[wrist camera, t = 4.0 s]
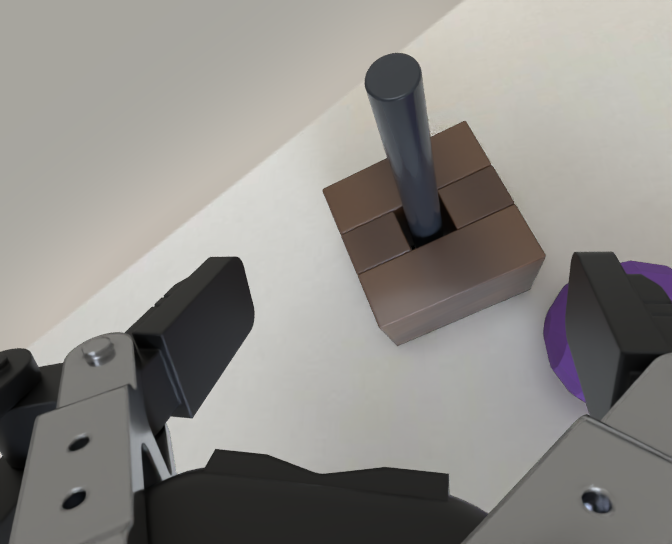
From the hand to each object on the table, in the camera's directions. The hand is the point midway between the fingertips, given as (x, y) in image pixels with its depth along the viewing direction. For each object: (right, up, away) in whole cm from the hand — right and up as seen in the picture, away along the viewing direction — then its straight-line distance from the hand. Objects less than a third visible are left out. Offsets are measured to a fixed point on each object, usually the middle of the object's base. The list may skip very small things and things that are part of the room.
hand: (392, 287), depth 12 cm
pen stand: (+4, +1, +13) cm, 13 cm away
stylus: (+4, +1, +13) cm, 13 cm away
